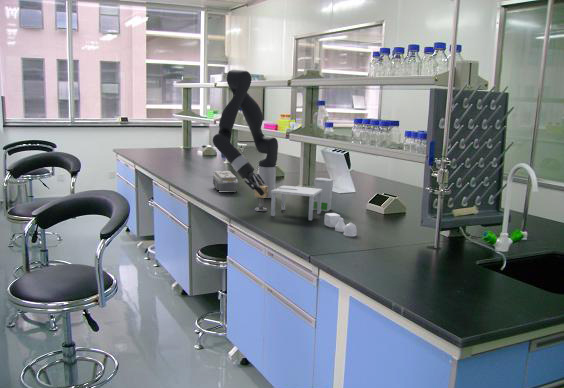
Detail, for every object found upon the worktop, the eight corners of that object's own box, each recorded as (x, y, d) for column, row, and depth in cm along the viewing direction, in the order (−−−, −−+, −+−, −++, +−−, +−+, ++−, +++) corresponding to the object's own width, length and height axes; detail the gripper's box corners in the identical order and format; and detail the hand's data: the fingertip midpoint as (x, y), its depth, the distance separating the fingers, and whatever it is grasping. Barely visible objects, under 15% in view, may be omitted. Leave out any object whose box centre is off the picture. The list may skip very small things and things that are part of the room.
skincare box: (312, 210, 250) (313, 179, 248) (315, 207, 257) (317, 177, 254) (328, 211, 248) (330, 180, 245) (331, 209, 254) (333, 178, 251)
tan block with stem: (257, 209, 249) (258, 184, 246) (268, 210, 247) (269, 186, 244) (252, 211, 243) (253, 186, 241) (264, 212, 241) (265, 187, 239)
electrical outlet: (228, 184, 312) (229, 168, 310) (240, 196, 286) (241, 179, 284) (210, 185, 308) (210, 169, 306) (220, 197, 282) (220, 179, 280)
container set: (323, 225, 221) (324, 213, 220) (334, 224, 223) (335, 212, 222) (347, 237, 203) (348, 224, 202) (358, 236, 205) (359, 223, 204)
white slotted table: (282, 209, 250) (282, 185, 248) (321, 213, 243) (322, 189, 241) (270, 215, 235) (271, 190, 233) (311, 220, 228) (313, 194, 226)
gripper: (241, 163, 236) (264, 191, 235) (253, 160, 250) (275, 186, 248) (231, 173, 239) (254, 201, 237) (243, 170, 252) (265, 196, 251)
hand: (265, 193), depth 243 cm, fingers closed on tan block with stem, 5 cm apart
